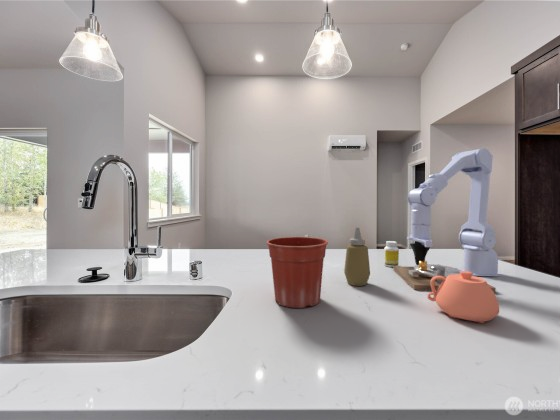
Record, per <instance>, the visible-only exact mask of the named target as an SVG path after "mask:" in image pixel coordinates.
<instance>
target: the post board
mask: <svg viewBox="0 0 560 420" xmlns="http://www.w3.org/2000/svg"><path fill="white" fill-rule="evenodd" d="M392 268H393V269H392V270H393V271H394V272H395V274H397V275H398V276H399V277H400V278H401V279H402V280H403V281H404V282H405V283H407V285H408V286H409V287H411V288H412V289H413V290H414V291H430V292H431V291H432V288H431V284H430V282H431V279H432V277H427V276H423V275H410V274H409V270H414V266H399V265H398V266H393V267H392ZM437 276H443V277H445V270H440V269H438V270H437ZM443 281H444V280H442V279H436V280H435V281H434V287H435V290H436V292H437V290H438V288H439V286H440V285H441V283H442V282H443ZM488 285H489V286H490V288H491V289H492V291H493V292H494V294H496V290H497V288H496V287H495V286H493V285H491V284H489V283H488Z"/></svg>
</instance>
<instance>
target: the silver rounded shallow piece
mask: <svg viewBox="0 0 560 420" xmlns="http://www.w3.org/2000/svg"><path fill="white" fill-rule="evenodd" d="M413 267H414V270H409V274H410V275H423V276H427V277H432V278H433V277H435V276H437V270H438V269H440V270H445V278H446V277H447V276H449V275H451V274H460V271H461V270H459V269H460V268H457V267H452V266H448V265H441V264H435V263H434V264H432V263H430V264H429V263H428V261H427V260H425V261H424V260H419V265H416V264H415V265H414V266H413Z"/></svg>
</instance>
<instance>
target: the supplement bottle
mask: <svg viewBox="0 0 560 420" xmlns="http://www.w3.org/2000/svg"><path fill="white" fill-rule="evenodd" d="M385 245H386V246H385V247H384V248H383V251H384V252H383V265H384V266H385V267H387V268H393V266H399V256H400V255H399V254H400V253H399V247H398V242H397V241H395V240H386V241H385Z"/></svg>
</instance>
